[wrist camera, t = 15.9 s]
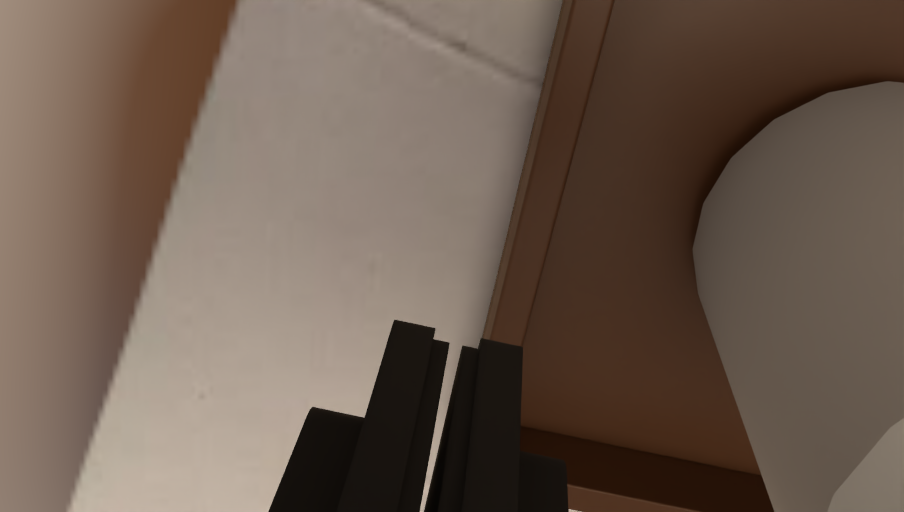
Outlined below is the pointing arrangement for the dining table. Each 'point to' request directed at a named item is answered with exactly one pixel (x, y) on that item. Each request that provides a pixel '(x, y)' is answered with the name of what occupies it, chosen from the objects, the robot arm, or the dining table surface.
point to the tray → (653, 231)
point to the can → (815, 298)
